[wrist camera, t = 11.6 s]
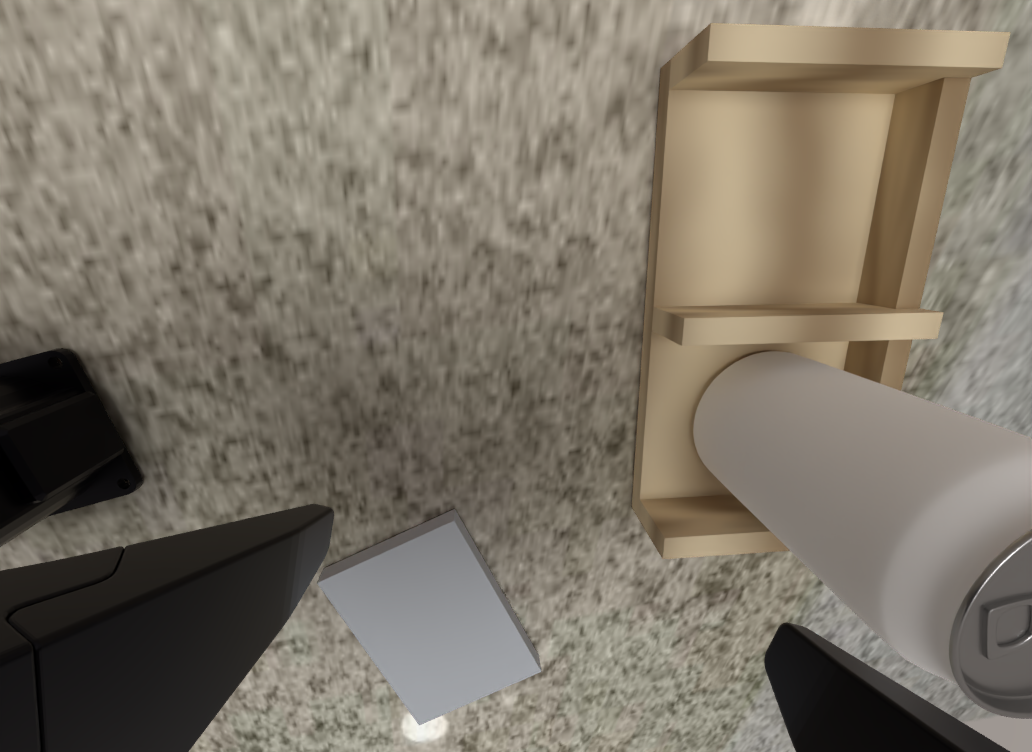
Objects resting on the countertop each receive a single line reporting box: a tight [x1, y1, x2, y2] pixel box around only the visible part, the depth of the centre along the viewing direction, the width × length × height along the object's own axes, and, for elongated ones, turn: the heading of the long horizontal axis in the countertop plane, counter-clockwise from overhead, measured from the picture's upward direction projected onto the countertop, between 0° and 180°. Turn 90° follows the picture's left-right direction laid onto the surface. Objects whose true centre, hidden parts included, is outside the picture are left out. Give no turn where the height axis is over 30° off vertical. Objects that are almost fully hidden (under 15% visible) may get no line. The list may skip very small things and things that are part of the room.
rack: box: [632, 23, 1011, 559], centre depth 19 cm, size 10×19×4 cm, turn 0°
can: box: [693, 351, 1032, 719], centre depth 16 cm, size 6×6×12 cm
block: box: [317, 509, 541, 725], centre depth 24 cm, size 7×10×1 cm
